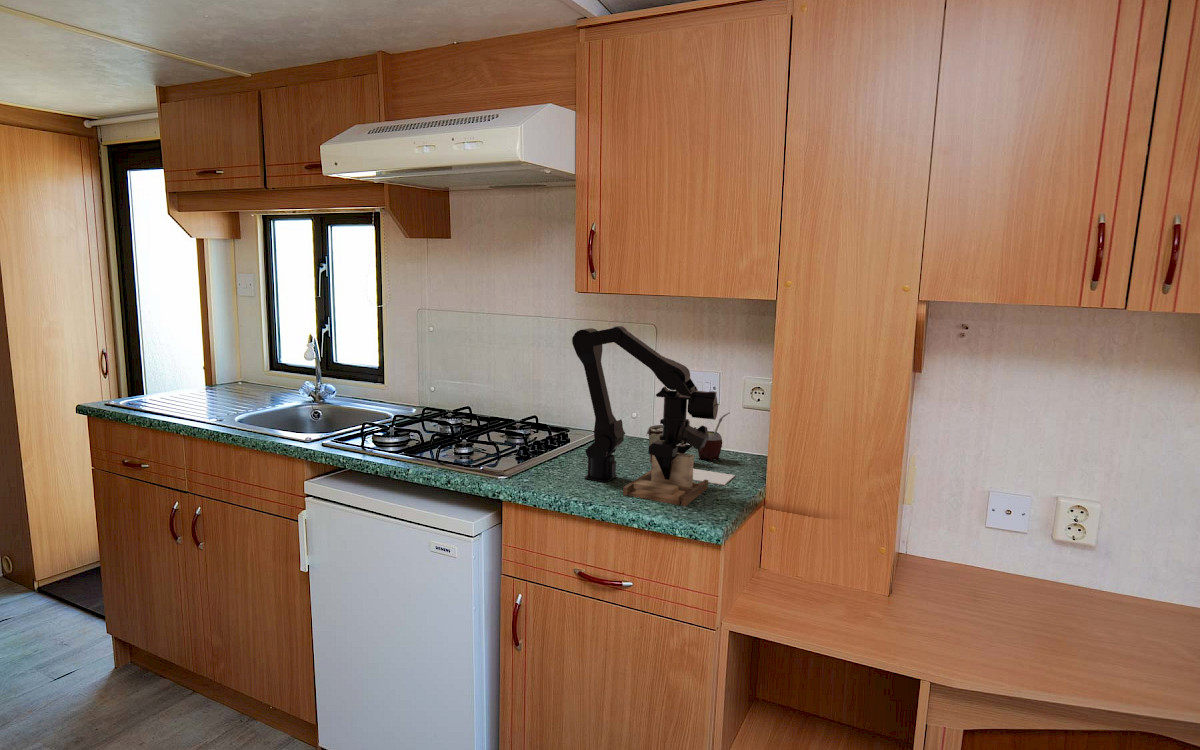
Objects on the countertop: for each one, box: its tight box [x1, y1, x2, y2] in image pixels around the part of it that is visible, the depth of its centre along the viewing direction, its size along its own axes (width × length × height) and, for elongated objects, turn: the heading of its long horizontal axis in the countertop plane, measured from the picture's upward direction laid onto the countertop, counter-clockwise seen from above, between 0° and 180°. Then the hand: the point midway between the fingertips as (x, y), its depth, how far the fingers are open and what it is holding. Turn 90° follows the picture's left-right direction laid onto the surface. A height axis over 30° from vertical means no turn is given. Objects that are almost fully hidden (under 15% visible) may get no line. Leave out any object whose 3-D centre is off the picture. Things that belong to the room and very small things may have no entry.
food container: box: [646, 424, 664, 464], centre depth 205 cm, size 12×6×10 cm, turn 92°
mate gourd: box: [697, 412, 730, 463], centre depth 207 cm, size 8×8×15 cm
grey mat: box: [693, 468, 736, 487], centre depth 190 cm, size 12×10×1 cm
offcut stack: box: [628, 479, 686, 506], centre depth 171 cm, size 13×5×4 cm, turn 64°
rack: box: [622, 470, 709, 507], centre depth 176 cm, size 16×17×2 cm
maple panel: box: [650, 453, 695, 488], centre depth 179 cm, size 10×3×9 cm, turn 63°
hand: (671, 476), depth 179 cm, fingers open, 6 cm apart
